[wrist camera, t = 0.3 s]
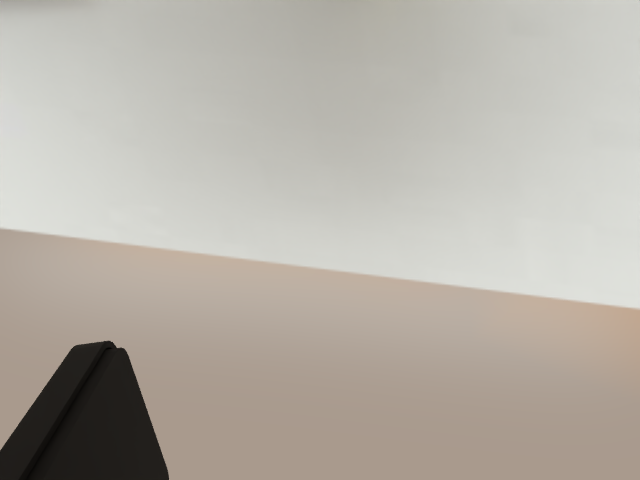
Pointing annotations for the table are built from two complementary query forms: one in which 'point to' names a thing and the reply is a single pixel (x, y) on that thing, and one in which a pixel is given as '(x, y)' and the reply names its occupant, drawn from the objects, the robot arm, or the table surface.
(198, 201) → the table surface
